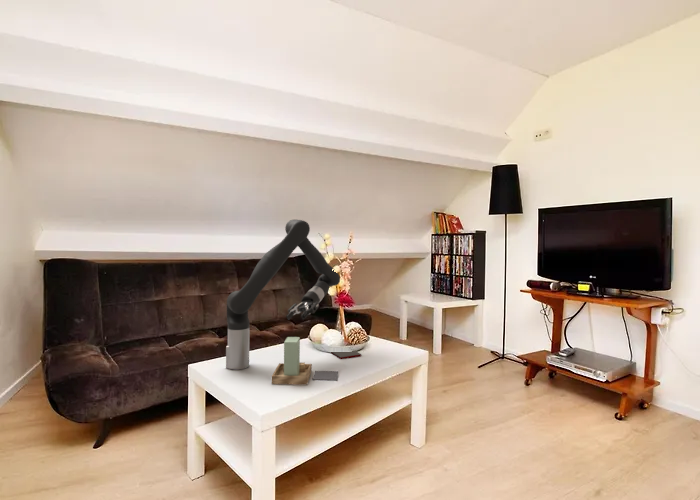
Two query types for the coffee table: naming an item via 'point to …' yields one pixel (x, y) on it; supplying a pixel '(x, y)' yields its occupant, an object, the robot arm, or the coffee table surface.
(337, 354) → the smartphone
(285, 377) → the wooden tray
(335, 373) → the mat
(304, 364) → the offcut upper
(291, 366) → the green rectangular block
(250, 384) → the coffee table surface
